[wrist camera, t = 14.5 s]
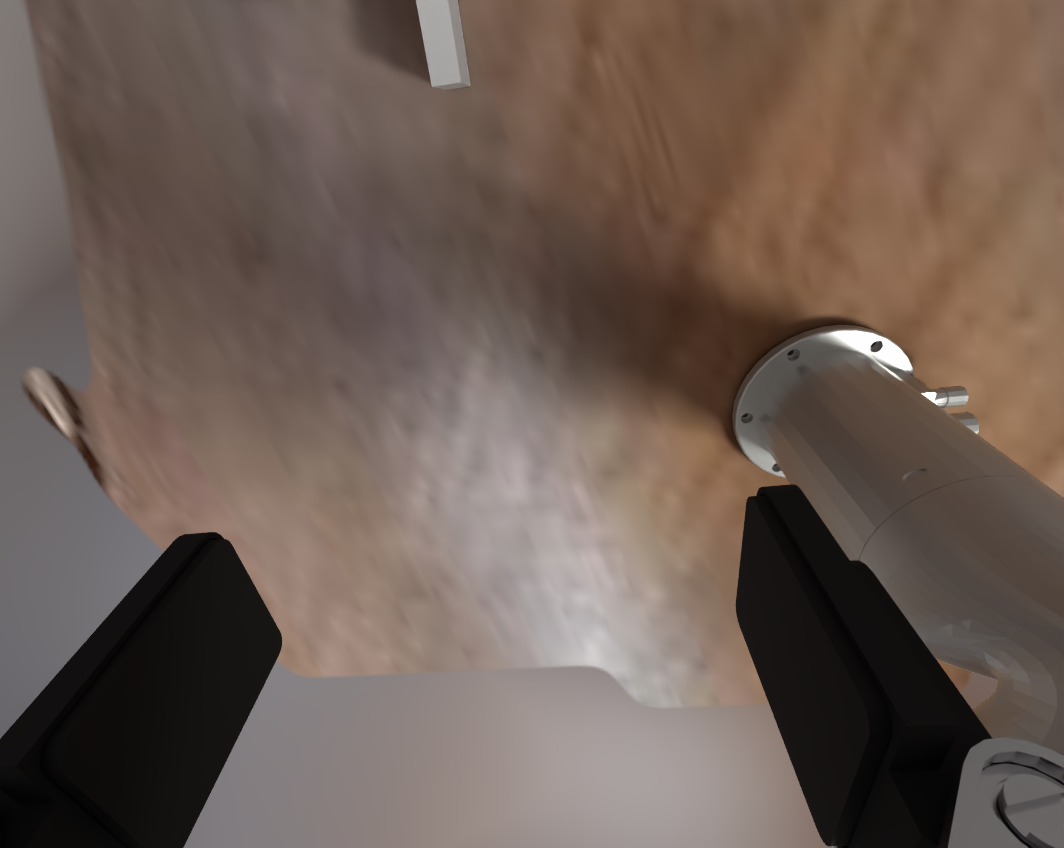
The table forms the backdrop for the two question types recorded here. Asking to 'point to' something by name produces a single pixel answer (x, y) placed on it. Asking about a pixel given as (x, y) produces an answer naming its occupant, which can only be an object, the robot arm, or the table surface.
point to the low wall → (444, 43)
